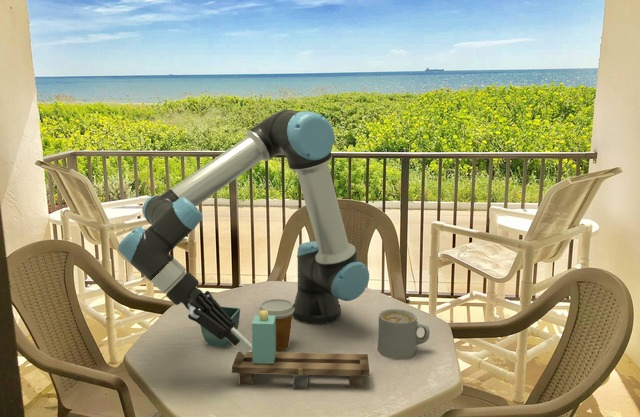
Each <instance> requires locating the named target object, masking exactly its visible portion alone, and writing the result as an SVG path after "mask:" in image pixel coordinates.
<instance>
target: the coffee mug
mask: <svg viewBox="0 0 640 417" xmlns="http://www.w3.org/2000/svg"><path fill="white" fill-rule="evenodd" d="M419 328H422V329H423V331H424V334H423V336H422V337H419V336H418V332H417V331H418V330H419ZM430 332H431V330H430V327H429V325H428V324H427V323H426V322H423V321H419V320H418V317H417V314H415V312H413V311H410V310H407V309H404V308H388V309H384V310H381V311H380V312H379V314H378V332H377V333H378V335H377V351H378V353H379V354H380V355H381V356H383V357H385V358H387V359H392V360H393V359H394V360H404V359H405V360H406V359H409V358H412V357H413V356H414V355H415V354H416V347H418V346H420V345H422V344H424V343H426V342H427V341H428V340H429V338H430Z"/></svg>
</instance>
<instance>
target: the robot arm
mask: <svg viewBox="0 0 640 417" xmlns="http://www.w3.org/2000/svg"><path fill="white" fill-rule="evenodd" d="M334 144H335V132H334V127H333V125H332V124H331V122H330V121H329V119H327V118H326V117H325V116H324V115H321V114H320V113H316V112H313V111H309V110H292V109H284V110H280V111H277V112H275V113H273V114H271V115H269V116H268V117H267V118H265V119H264V120H262V121H261V122H259V123H258V124H256V125H254V126H253V127H252V128H251V129H249V130H247V131H246V135H245V137H244V138H242V139H241V140H240V141H238V142H237V143H235V144H234V145H232V146H231V147H229V148H228V149H227V150H225V151H223V152H222V153H221V154H219V155H218V156H216V157H215V158H214V159H212V160H211V161H209V162H207V163H206V164H205V165H203V166H202V167H200V168H199V169H198V170H196V171H194V172H193V173H192V174H190V175H189V176H187V177H186V178H184V179H183V180H182V181H180V182H179V183H177V184H176V185H174V186H173V187H171V188H170V189H168V190H166V191H165V192H163V193H162V194H161V195H159V194H158V195H153V196H149V197H148V198H147V199H146V200H145V201H144V203H143V205H142V215H143V217H144V219H146V222H148V223H149V224H150V226H149V227H148V228H146V229H145V228H143V227H141V226H136V227H135V228H134V229H132V231H131V232H130V233H128V234H127V235H125V237H124V238H123V239H122V240H121V241H120V243H119V244H118V246H117V248H118V252H119V253H120V255H121V256H123V257H124V258H125V259H126V260H127V262H128V263H130V265H132V266H133V267H134V268H135V269H136V271H138V272H139V273H140V274H142V275H143V277H145V278H146V279H147V280H148V281H149V282H151V283H152V284H153V287H154V288H157V289H158V290H159V291H160V292H161V293H166V294H165V296H166V297H167V299H169V301H170V302H172V303H173V304H174V305H175V306H178V305H180V304H181V303H182V305H183V306H184V307H185V309H187V310H188V311H189V314H188V315H187V318H188V319H189V320H191V321H192V322H196V323H197V324H199V325H201V326H202V327H204V328H205V329H206V330H208V331H209V332H211V333H212V334H213V335H215V336H216V337H217V338H219V339H221V340H222V339H223V338H224V337H225V338H226V339H227V340H228V341H229V342H230V343H229V344H230V345H233V347H235V348H236V349H237V350H238V352H241V353H242V354H243V355H245V354H246V353H247V352H251V350H252V342H250V341H249V340H248V339H247V338H246V337H245V336H244V335H243V334H242V333H241V332H240V331H239V330H238V329H237V330H236V329H235V328H234V327H233V326H234V325H235V322H233V320H232V319H231V318H230V317H229V315H228V314H227V313H226V312H225V311H224V310H223V309H222V307H223V306H222V305H220V304H219V303H218V302H217V301H216V299H215V298H214V297H213V295H212V294H211V293H210V291H209V290H206V291H205V292H203V291H202V290H201V289H199V288H198V287H197V286H198V285H199V282H200V281H199V280H198V279H197V278H196V277H195V276H194V275H193V274H192V273H191V272H186V271H187V268H185V266H183V264H181V263H180V262H179V261H178V260H177V259H176V258H174V257H173V256H172V255H171V254H170V253H171V251H173V250H174V249H175V248H176V247H177V246H178V245H179V244H180V243H181V242H182V241H183V240H184V239H185V238H186V237H187V236H188V235H189V234H190V233H191V232H192V231H194V230H195V229H196V227H197V226H198V225H199V223H201V222H202V220H203V214H202V211H200V210H199V208H198V207H197V206H199V205H201V203H203V202H205V201H206V200H207V199H209V198H211V197H212V196H213V195H214V194H216V193H217V192H218V191H221V189H223V188H225V187H226V186H227V185H229V184H230V183H231V182H233V181H235V180H236V179H237V178H239V177H240V176H242V175H243V174H245V173H246V172H247V171H249V170H250V169H251V168H253V167H254V166H256V165H257V164H259V163H260V162H261V161H262V162H263V161H265V162H268V161H270V160H271V159H272V158H274V157H276V156H279V155H282V154H285V157H286V161H287V163H288V164H287V165H288V167H289V170H291V171H293V172H294V173H296V174H297V179H298V183H299V185H300V188H301V192H302V196H303V200H304V204H305V207H306V210H307V214H308V218H309V220H310V225H311V228H312V232H313V236H314V239H315V240H314V241H308V242H303V243H301V244H299V246H298V248H297V255H296V257H297V292H296V295H295V298H294V303H292V304H293V307H294V312H293V314H292V318H294V319H295V320H296V321H298V322H301V323H304V324H310V325H311V324H312V325H319V324H320V325H321V324H329V323H333V322H334V321H335V322H336V321H338V319H340V317H341V316H342V307H341V304H340V301H339V300H341V301H343V302H344V301H345V302H349V301H350V302H352V301H354V300H356V299H357V298H359V297H360V296H361V295H362V294H363V293H364V292H365V291H366V287H367V286H368V285H369V281H370V271H369V269H368V267H367V266H366V265H365V263H364V262H361V261H359V256H358V253H357V250H356V246H355V245H353V244H351V243H350V242H349V240H348V236H347V232H346V229H345V225H344V221H343V217H342V213H341V209H340V206H339V201H338V196H337V195H336V190H335V187H334V182H333V179H332V178H333V177H332V174H331V171H330V167H329V164H330V162H331V160H332V158H333V155H332V149H333V146H334ZM221 306H222V307H221ZM231 322H233V323H231ZM201 326H200V327H201Z"/></svg>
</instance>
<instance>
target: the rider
mask: <svg viewBox="0 0 640 417" xmlns="http://www.w3.org/2000/svg"><path fill="white" fill-rule="evenodd" d="M251 339H252V340H251V341H252V342H251V344H252V349H251V350H252V351H251V352H252V356H253V363H260V364H274V361H275V357H276V352H277V351H276V316H273V315H268V311H267V310H261V311H260V312H259V314H255V315H254V316H253V320H252V321H251Z"/></svg>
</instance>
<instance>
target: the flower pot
mask: <svg viewBox="0 0 640 417" xmlns="http://www.w3.org/2000/svg"><path fill="white" fill-rule="evenodd" d="M220 306H221V307H222V309H223V310H224V311H225V312H226V313H227V314H228V315H229V317H230V318H231V319H232V320H233V322H235V325H234V326H233V327H234V328H235V329H236V330H237V331H238V328H239V325H240V317H241V316H240V314H241V308H240V307H234V306H233V307H230V306H223V305H220ZM233 322H231V323H233ZM199 325H200V324H199ZM200 330H201V334H202V337H203V339H204V341H205V342H206V343H207V344H208V346H210V347H211V346H212V347H219V348H220V347H223V348H227V347H228V346H229V345H230V344H231V343H230V342H229V341H228V340H227V339H226V338H225V337H224V338H223V339H222V340H221V339H219V338H217V337H216V336H215V335H213V334H212V333H211V332H209V331H208V330H206V329H205V328H204V327H202V326H201V325H200Z"/></svg>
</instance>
